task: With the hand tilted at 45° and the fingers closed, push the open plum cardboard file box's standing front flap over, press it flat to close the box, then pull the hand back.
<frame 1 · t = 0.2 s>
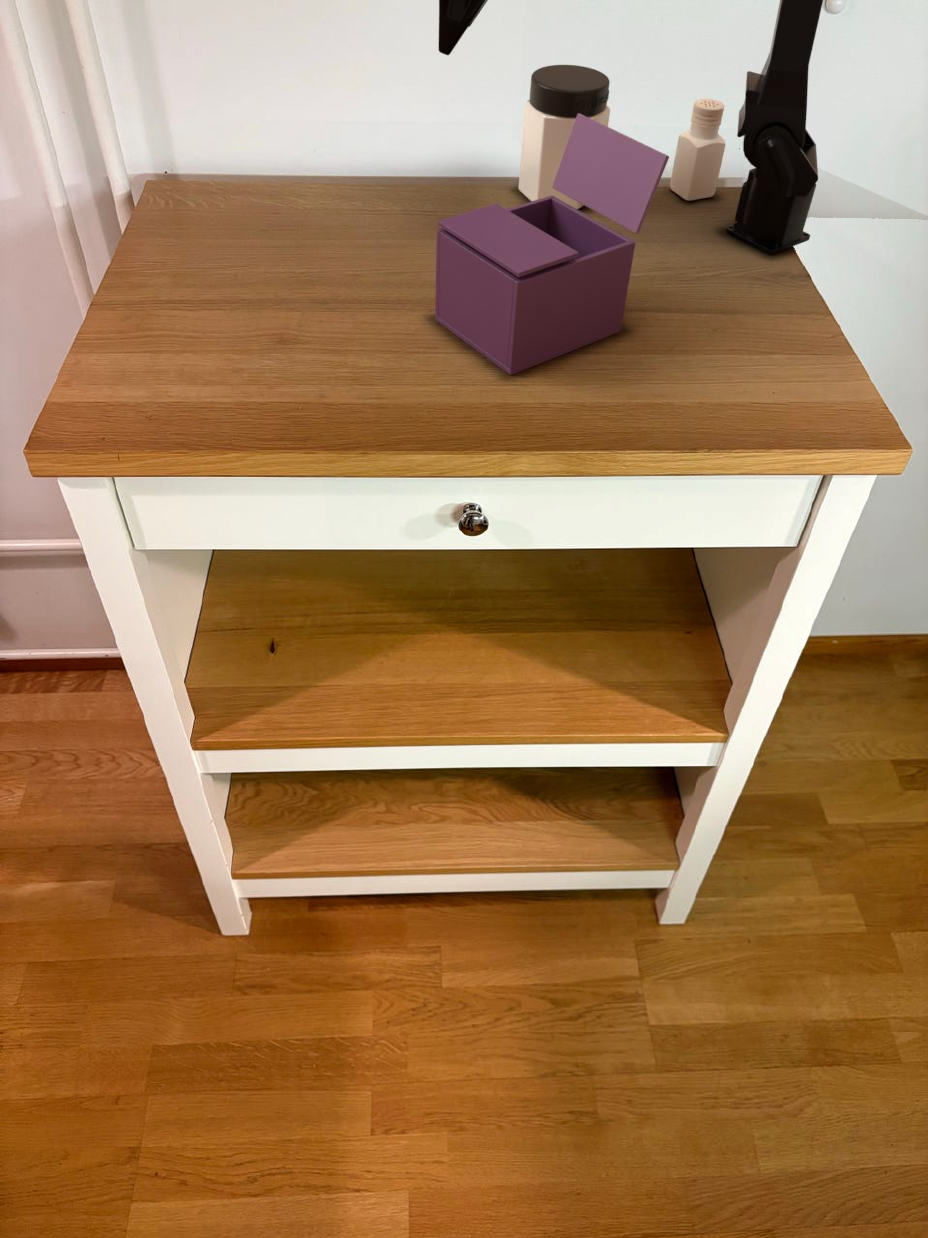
hand: (454, 38, 97), 15 cm above the table, tool pointing down, fingers open, 9 cm apart
pepper shaker: (690, 195, 111), on the table
jar: (558, 195, 110), on the table
file box: (527, 325, 90), on the table
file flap: (607, 172, 85), point 12 cm above the table, hinge at 110.0°
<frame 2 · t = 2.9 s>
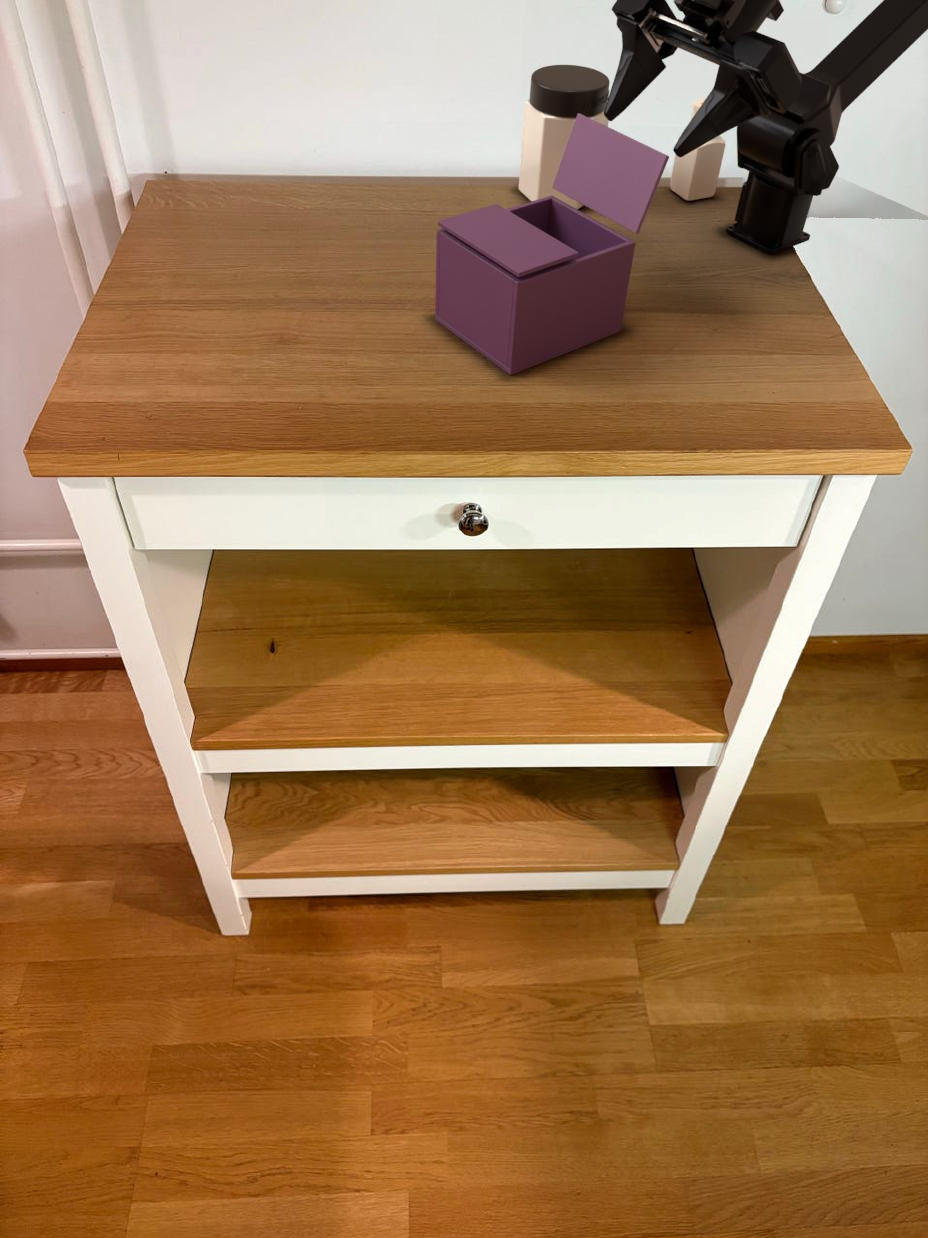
hand: (640, 135, 86), 14 cm above the table, tool tilted 45°, fingers open, 9 cm apart
nothing on the table moved.
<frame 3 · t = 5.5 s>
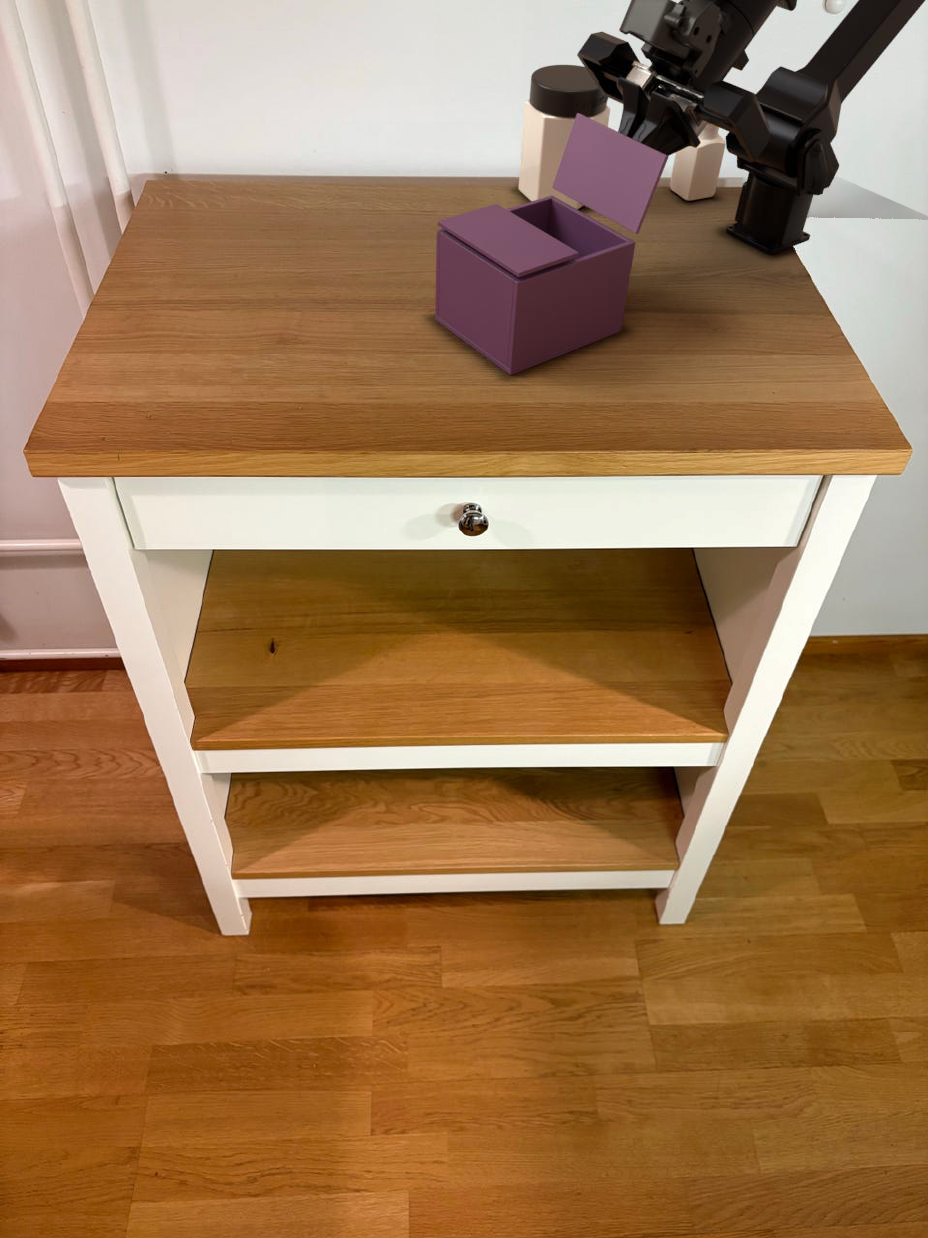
hand: (609, 180, 85), 11 cm above the table, tool tilted 45°, fingers closed, pressing on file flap
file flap: (607, 172, 85), point 12 cm above the table, hinge at 109.0°, touching gripper
everything else where it was.
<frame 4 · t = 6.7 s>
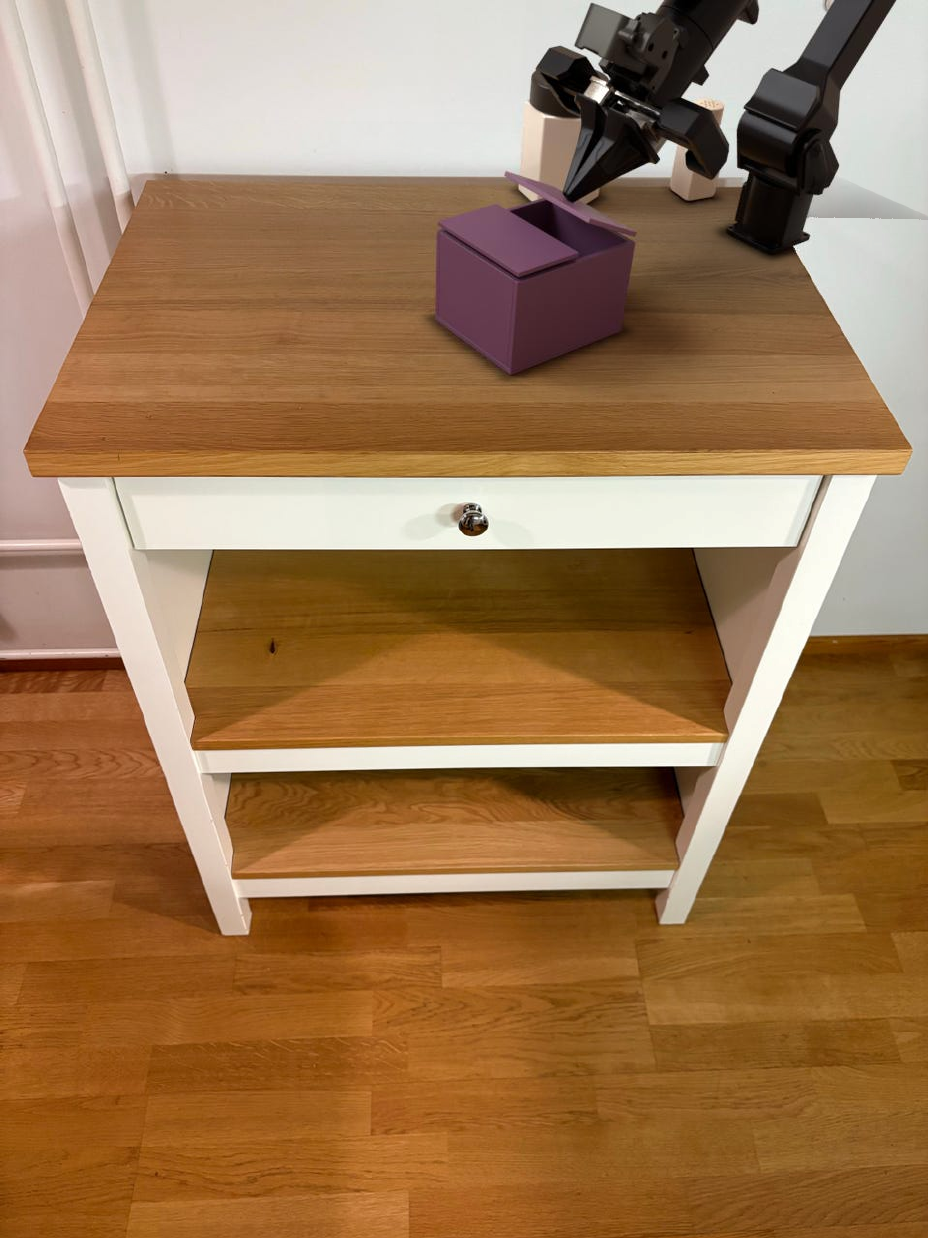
hand: (567, 198, 83), 11 cm above the table, tool tilted 45°, fingers closed, pressing on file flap
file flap: (569, 203, 84), point 10 cm above the table, hinge at 24.2°, touching gripper
everything else where it was.
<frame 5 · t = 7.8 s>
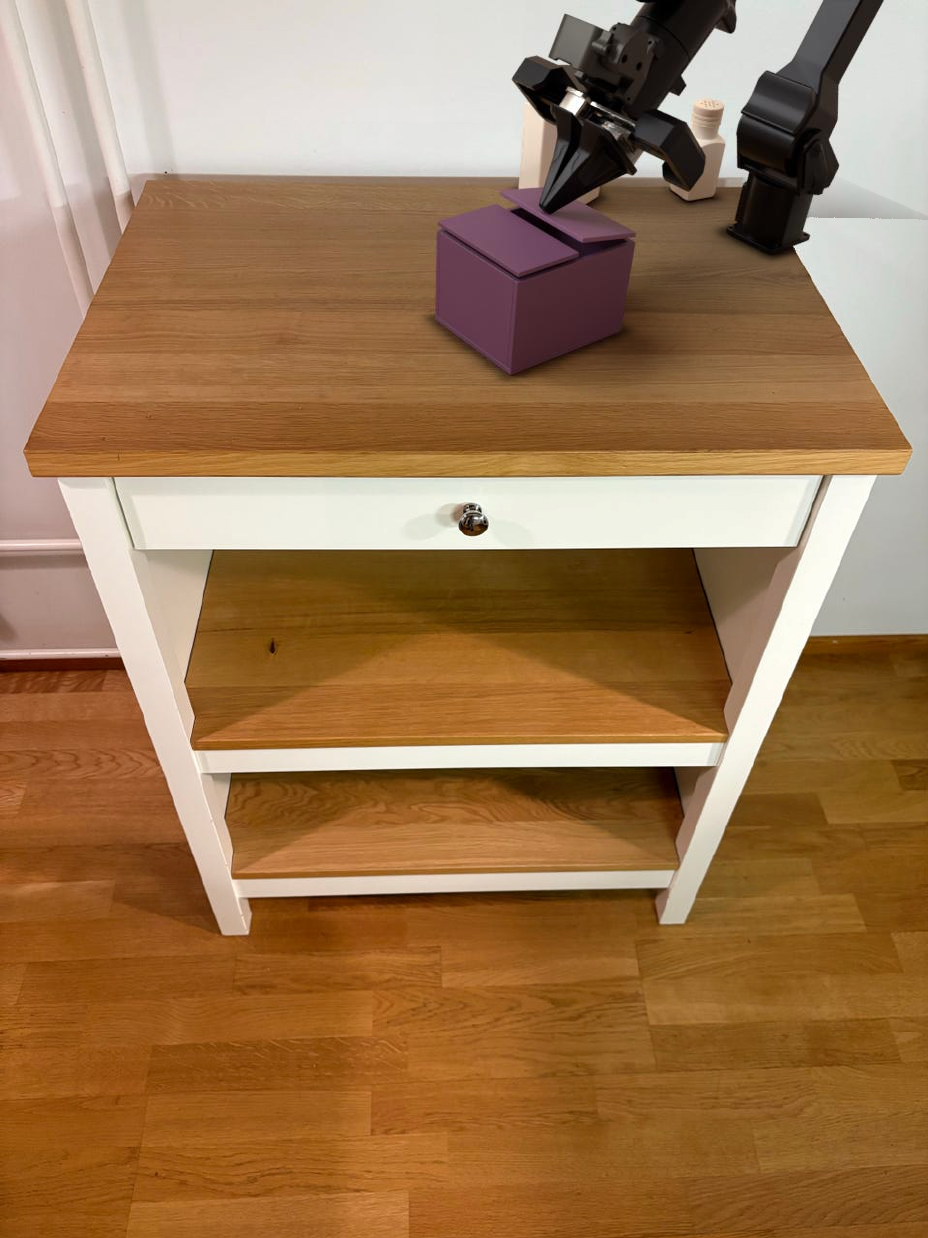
hand: (543, 210, 83), 11 cm above the table, tool tilted 45°, fingers closed, pressing on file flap
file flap: (566, 213, 84), point 10 cm above the table, hinge at 10.0°, touching gripper
everything else where it was.
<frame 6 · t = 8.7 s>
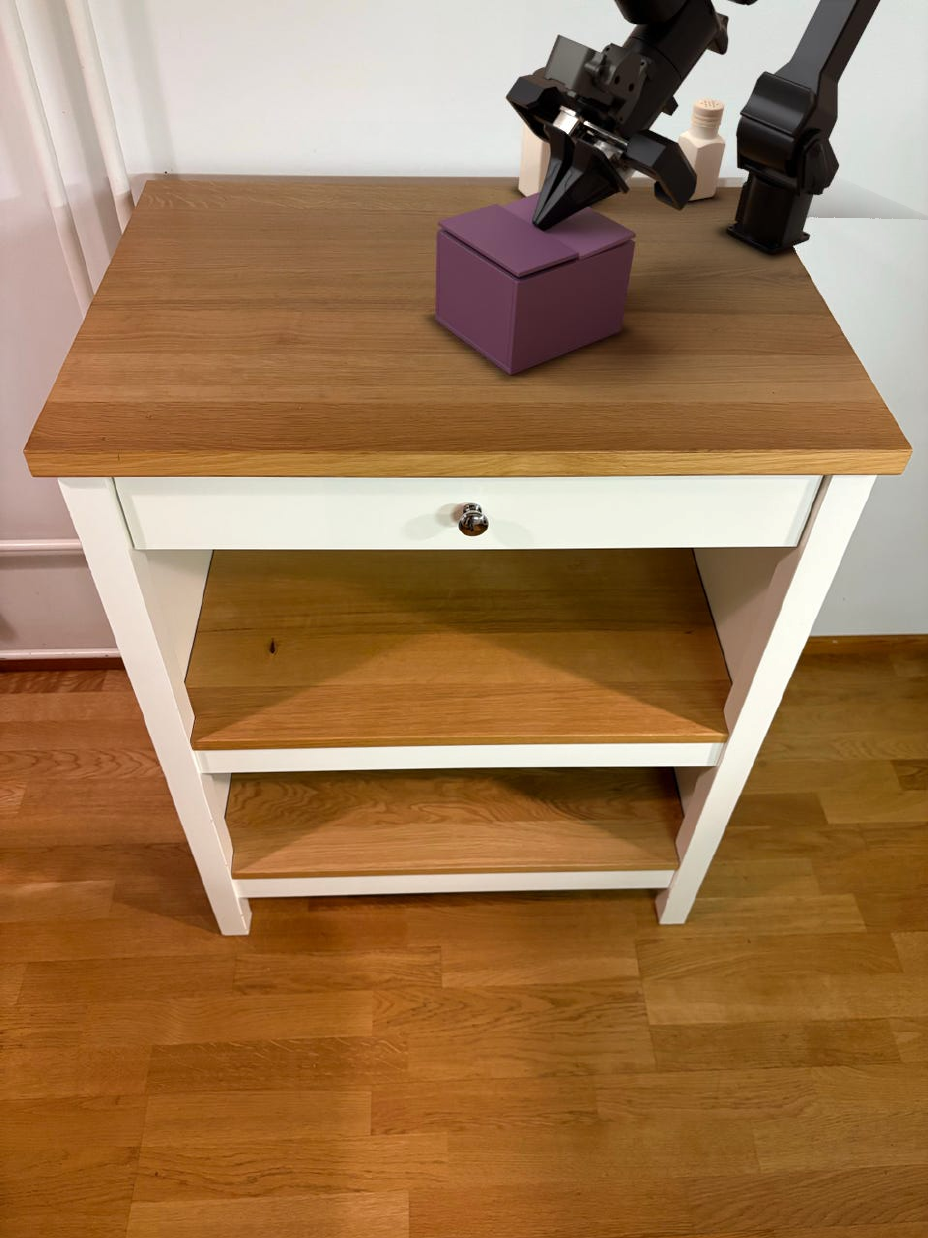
hand: (536, 227, 83), 9 cm above the table, tool tilted 45°, fingers closed, pressing on file box, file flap
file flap: (565, 221, 85), point 9 cm above the table, hinge at -3.5°, touching gripper
everything else where it was.
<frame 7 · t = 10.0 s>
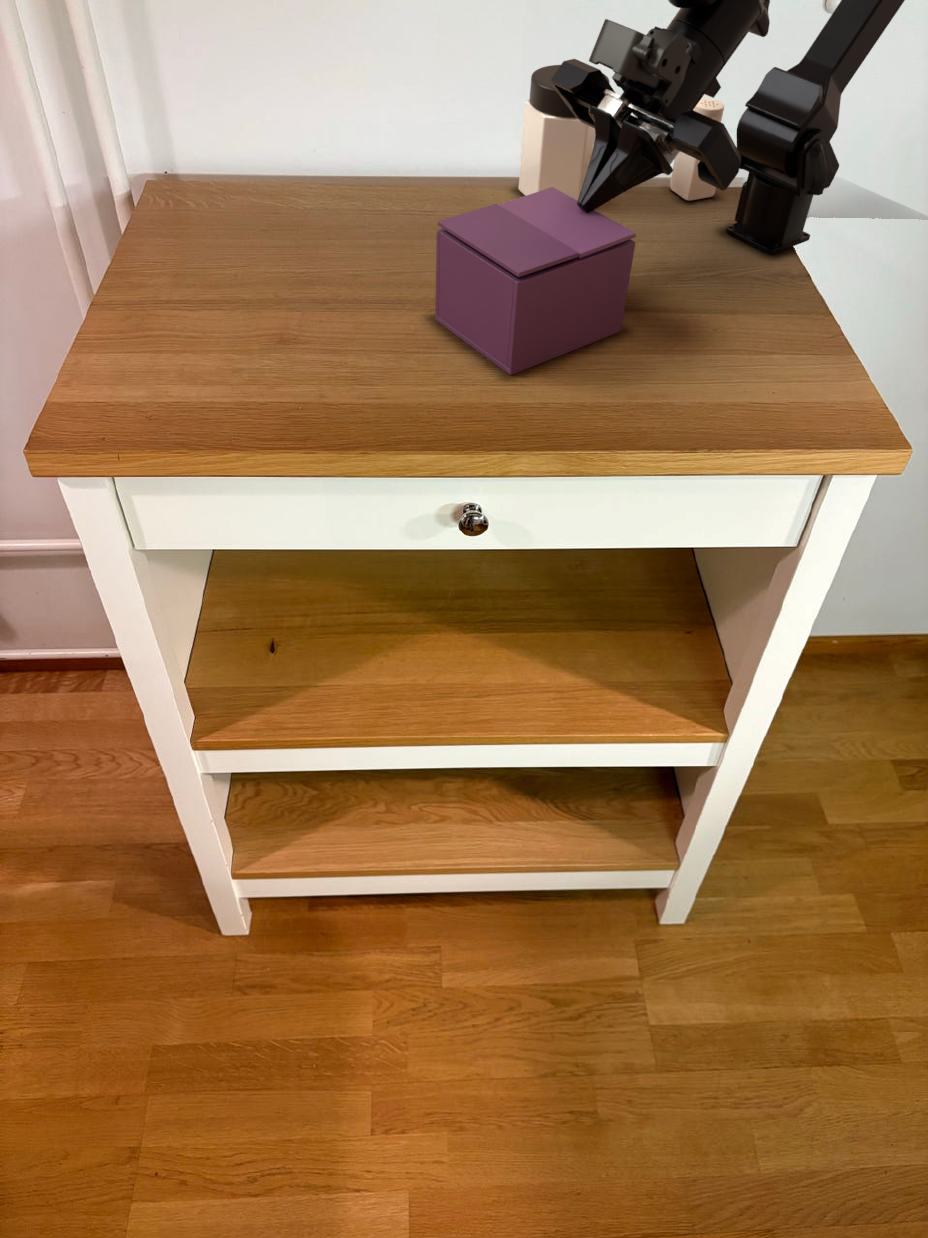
hand: (582, 208, 85), 10 cm above the table, tool tilted 45°, fingers closed
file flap: (565, 220, 85), point 9 cm above the table, hinge at -1.4°
everything else where it was.
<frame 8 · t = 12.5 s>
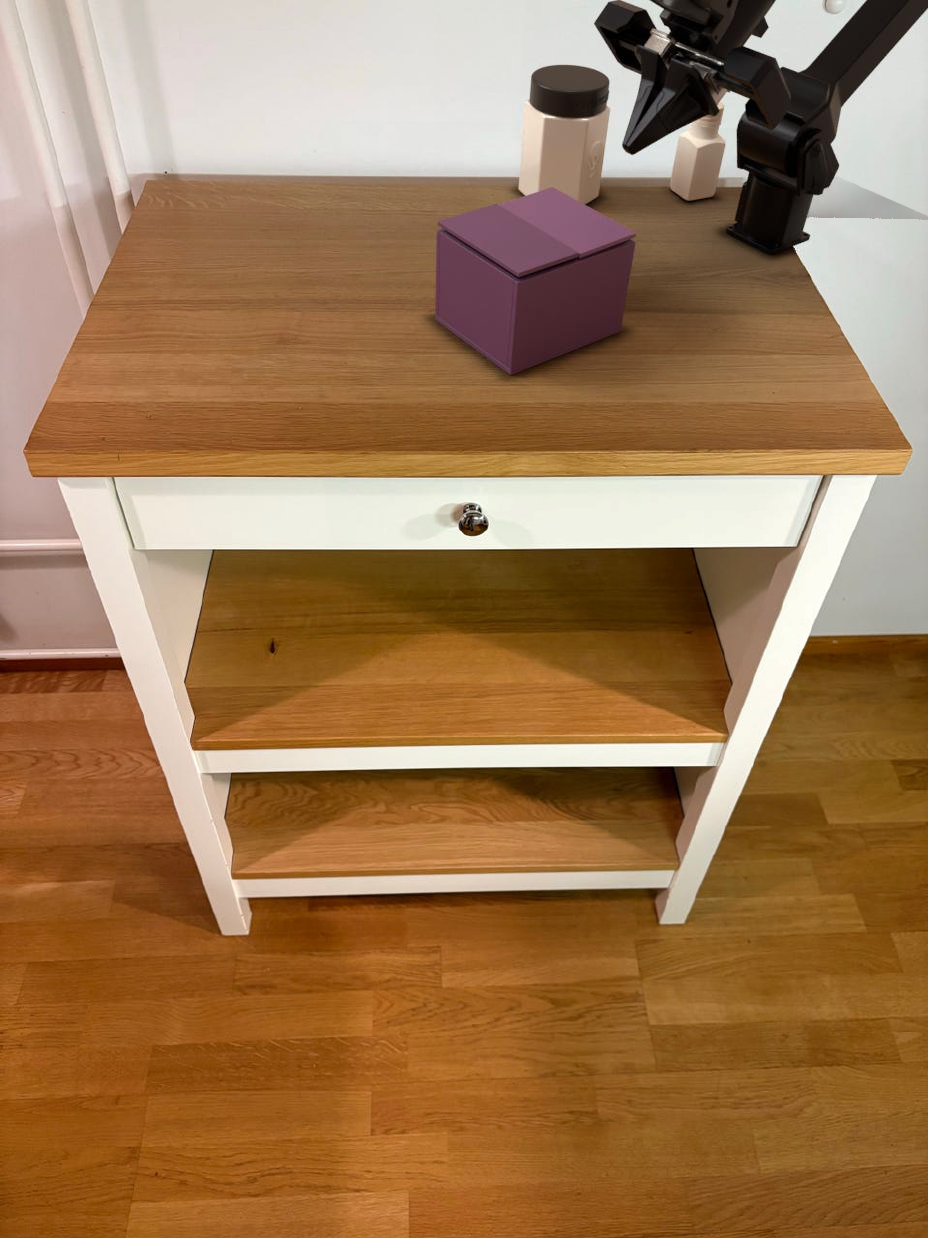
hand: (626, 150, 84), 14 cm above the table, tool tilted 45°, fingers closed
nothing on the table moved.
at the end: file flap at -1° (first picture: +110°); pepper shaker moved 0.2 cm from its start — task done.
